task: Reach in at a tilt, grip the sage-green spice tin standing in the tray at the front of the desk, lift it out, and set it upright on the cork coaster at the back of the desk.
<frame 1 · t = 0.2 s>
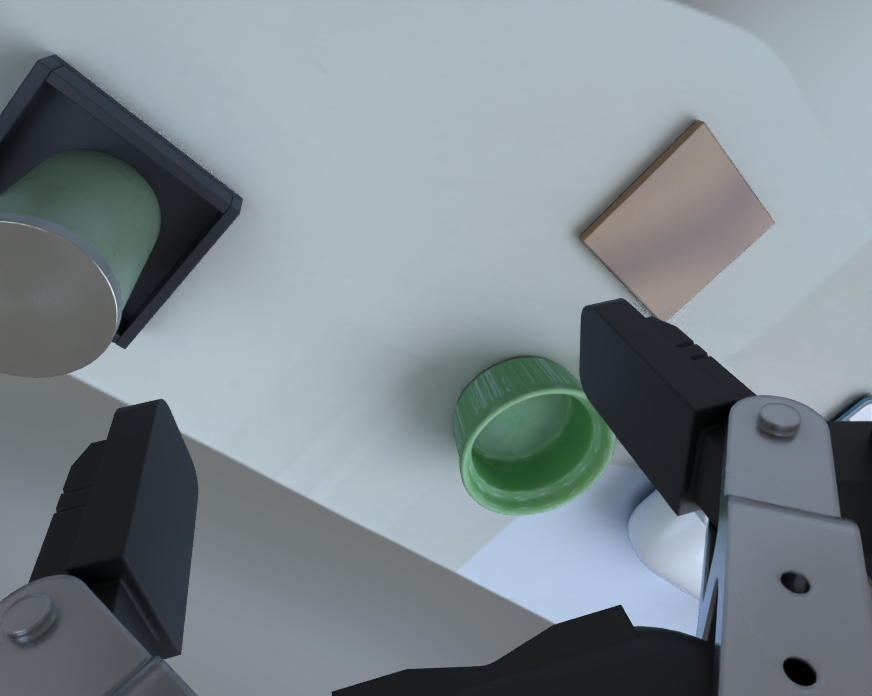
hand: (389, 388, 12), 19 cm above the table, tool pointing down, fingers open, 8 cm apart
earbud case: (696, 502, 46), on the table
smartphone: (864, 470, 48), on the table
ramekin: (514, 408, 38), on the table
tin: (96, 210, 27), resting on tray
coaster: (675, 228, 34), on the table
tray: (99, 207, 27), on the table
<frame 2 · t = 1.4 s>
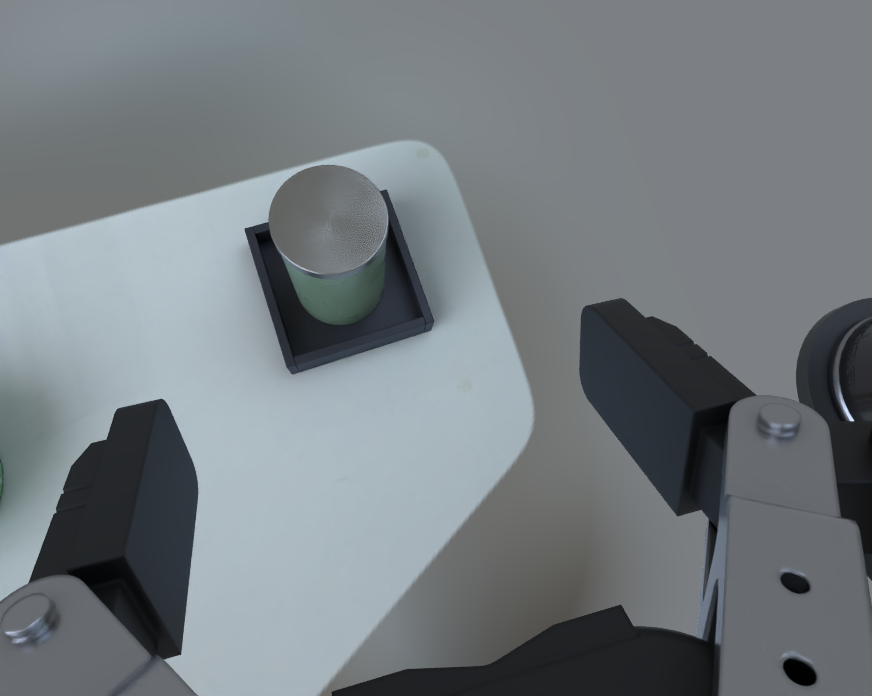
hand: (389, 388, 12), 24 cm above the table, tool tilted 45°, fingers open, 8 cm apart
tin: (340, 283, 37), resting on tray
tray: (340, 286, 37), on the table
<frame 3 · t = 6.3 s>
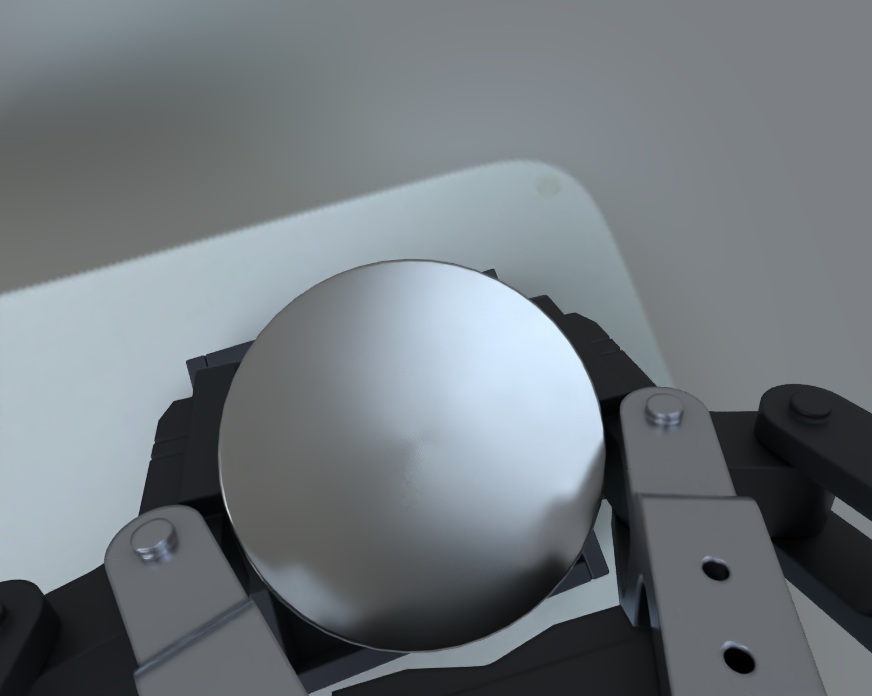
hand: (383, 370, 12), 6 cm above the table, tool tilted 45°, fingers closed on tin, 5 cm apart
tin: (394, 468, 17), point 1 cm above the table, touching gripper, tray
tray: (394, 469, 18), on the table
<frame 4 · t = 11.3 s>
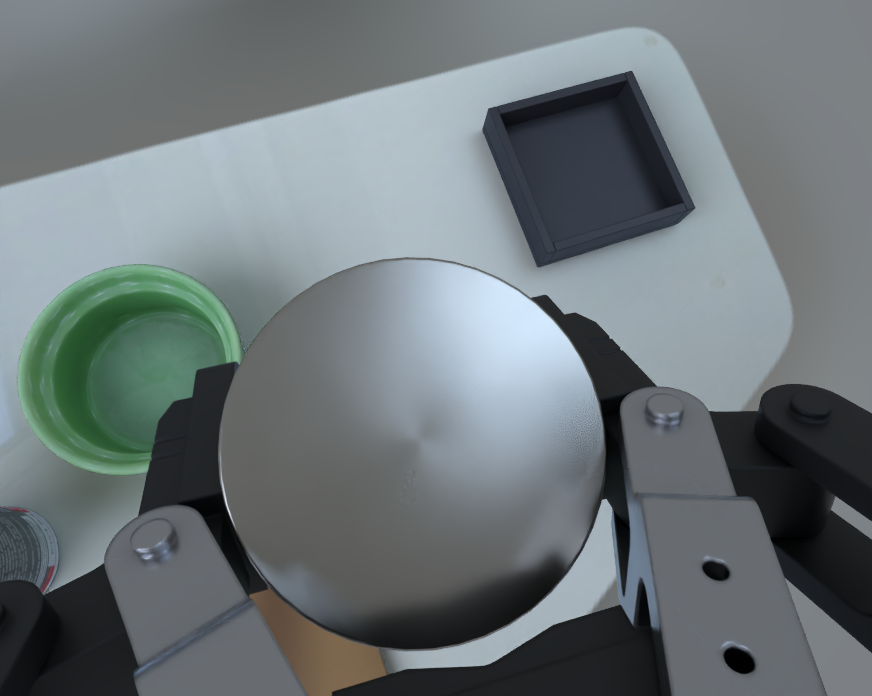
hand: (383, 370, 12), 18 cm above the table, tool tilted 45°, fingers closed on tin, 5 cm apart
pill bottle: (8, 560, 28), on the table
ramekin: (166, 383, 30), on the table
tin: (394, 467, 17), point 13 cm above the table, touching gripper
coaster: (285, 653, 28), on the table
tray: (579, 176, 35), on the table
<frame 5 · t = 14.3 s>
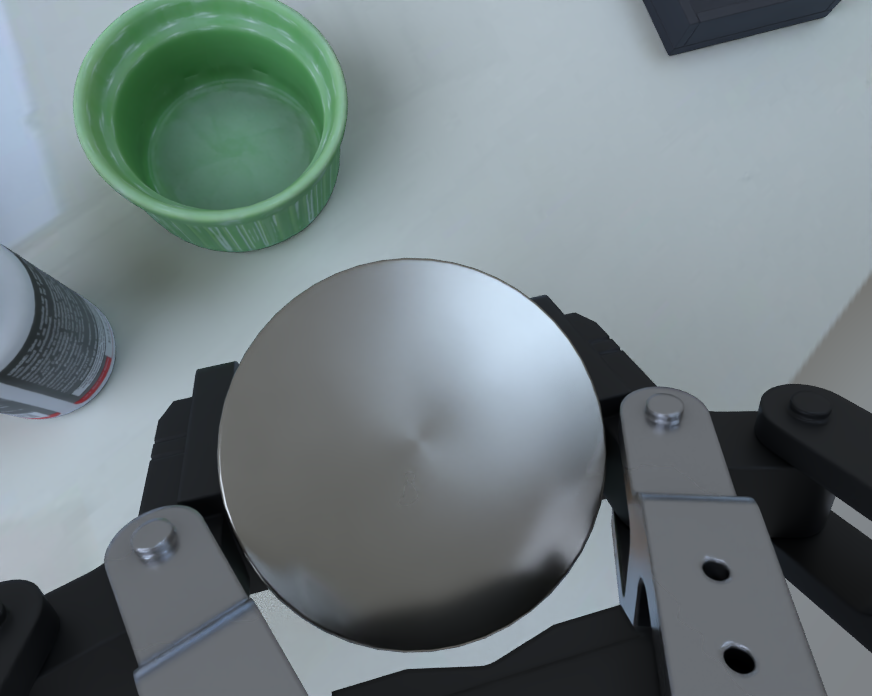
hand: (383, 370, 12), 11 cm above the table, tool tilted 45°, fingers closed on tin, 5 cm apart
pill bottle: (54, 357, 23), on the table
ramekin: (240, 165, 25), on the table
tin: (394, 468, 17), point 6 cm above the table, touching gripper
when the fingers open (6 cm above the table, at t = 16.3 s): tin stays where it is, resting on coaster.
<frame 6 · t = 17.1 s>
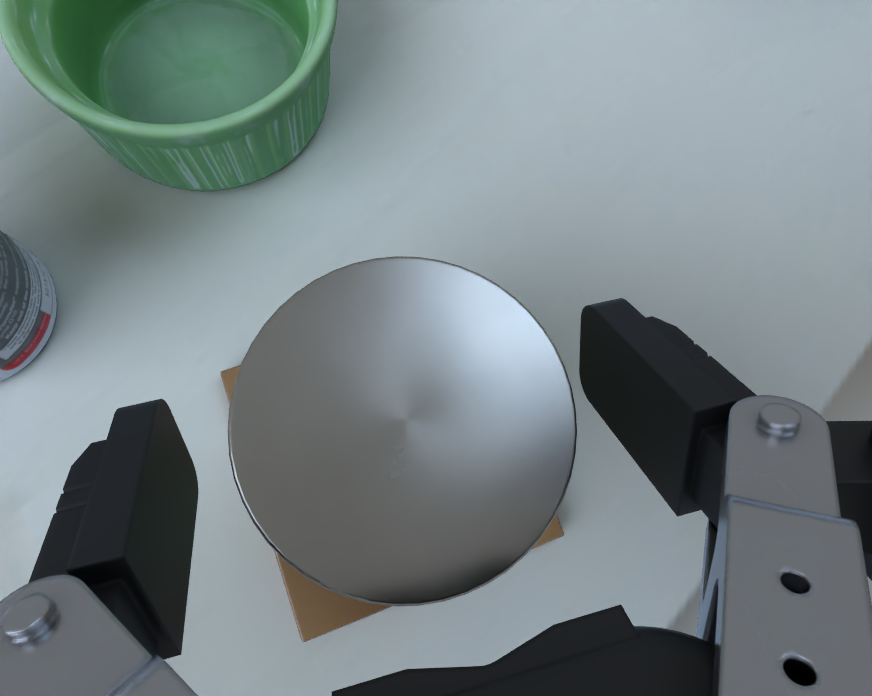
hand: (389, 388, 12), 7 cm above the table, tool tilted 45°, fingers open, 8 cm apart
ramekin: (212, 92, 21), on the table
tin: (391, 454, 18), point 1 cm above the table, touching coaster
coaster: (391, 454, 19), on the table
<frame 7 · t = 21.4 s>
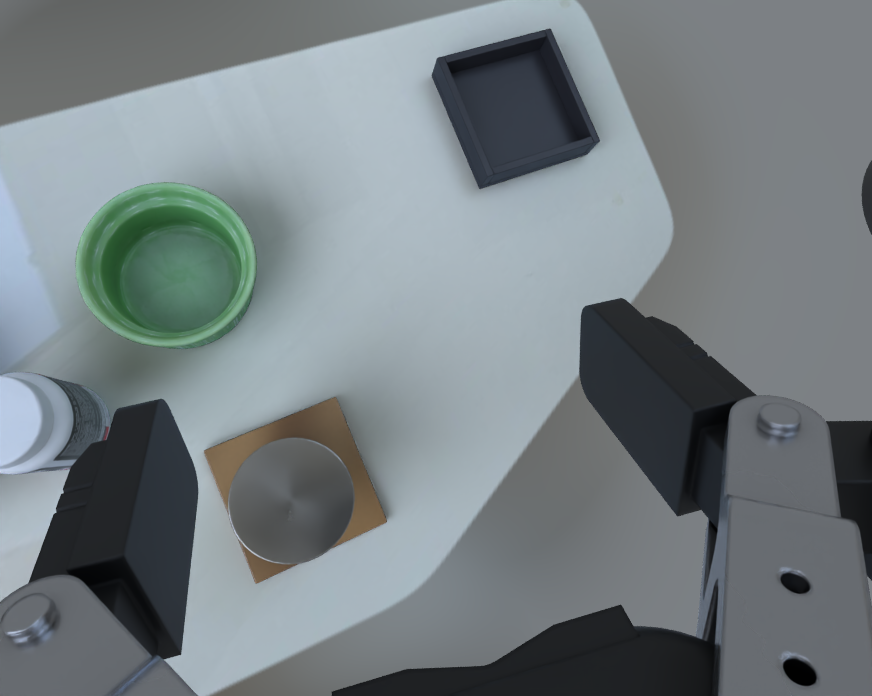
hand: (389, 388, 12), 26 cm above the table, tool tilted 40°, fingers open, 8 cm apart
pill bottle: (67, 426, 35), on the table
ramekin: (184, 284, 37), on the table
tin: (296, 487, 36), point 1 cm above the table, touching coaster
coaster: (297, 486, 36), on the table
tray: (510, 115, 43), on the table
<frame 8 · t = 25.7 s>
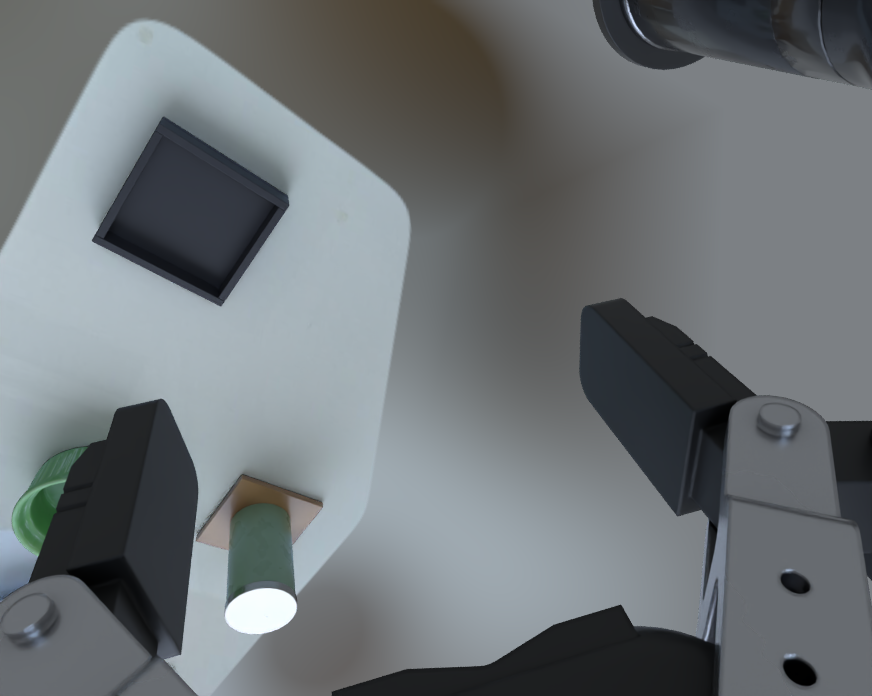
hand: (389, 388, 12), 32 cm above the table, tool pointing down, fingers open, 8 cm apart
ramekin: (95, 481, 49), on the table
tin: (260, 524, 55), point 1 cm above the table, touching coaster
coaster: (260, 519, 55), on the table
tray: (195, 212, 41), on the table
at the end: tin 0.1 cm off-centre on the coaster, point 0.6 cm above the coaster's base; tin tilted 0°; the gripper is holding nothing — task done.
